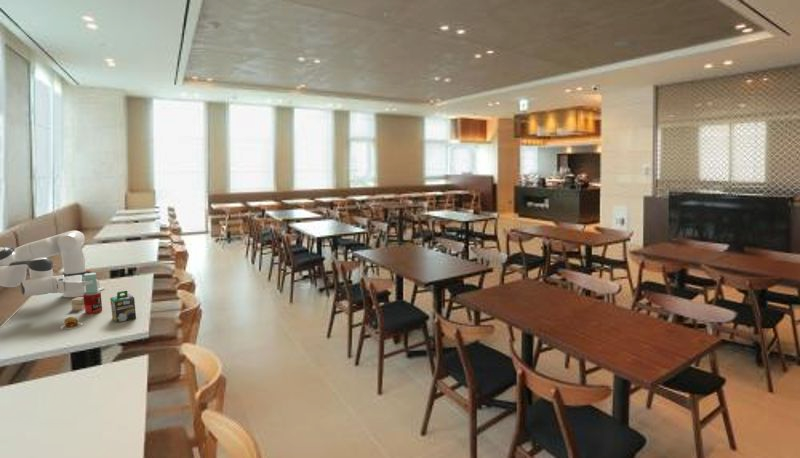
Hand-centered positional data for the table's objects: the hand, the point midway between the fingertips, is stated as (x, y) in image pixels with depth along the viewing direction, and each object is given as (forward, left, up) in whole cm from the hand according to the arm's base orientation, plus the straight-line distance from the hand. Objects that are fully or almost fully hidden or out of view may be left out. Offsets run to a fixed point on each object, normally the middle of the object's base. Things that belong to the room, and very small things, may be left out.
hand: (92, 280), depth 244 cm
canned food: (+1, -1, -18) cm, 18 cm away
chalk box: (+8, +24, -18) cm, 31 cm away
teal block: (+1, -1, -7) cm, 7 cm away
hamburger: (+22, +8, -18) cm, 30 cm away
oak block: (-2, -13, -18) cm, 22 cm away
